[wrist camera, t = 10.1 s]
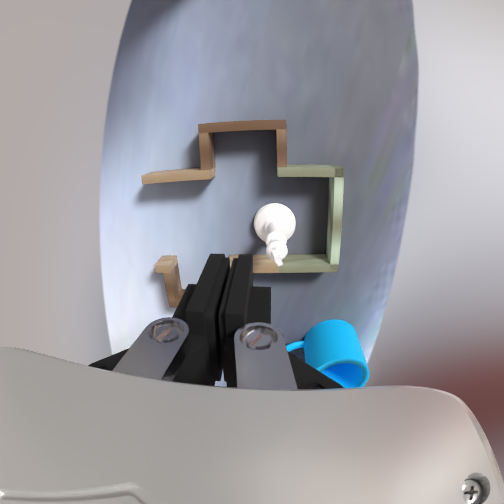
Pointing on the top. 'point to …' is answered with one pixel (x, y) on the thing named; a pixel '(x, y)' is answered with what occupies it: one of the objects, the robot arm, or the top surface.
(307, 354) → the mug
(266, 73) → the top surface
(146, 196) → the top surface
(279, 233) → the chess piece
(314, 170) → the box
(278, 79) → the top surface
